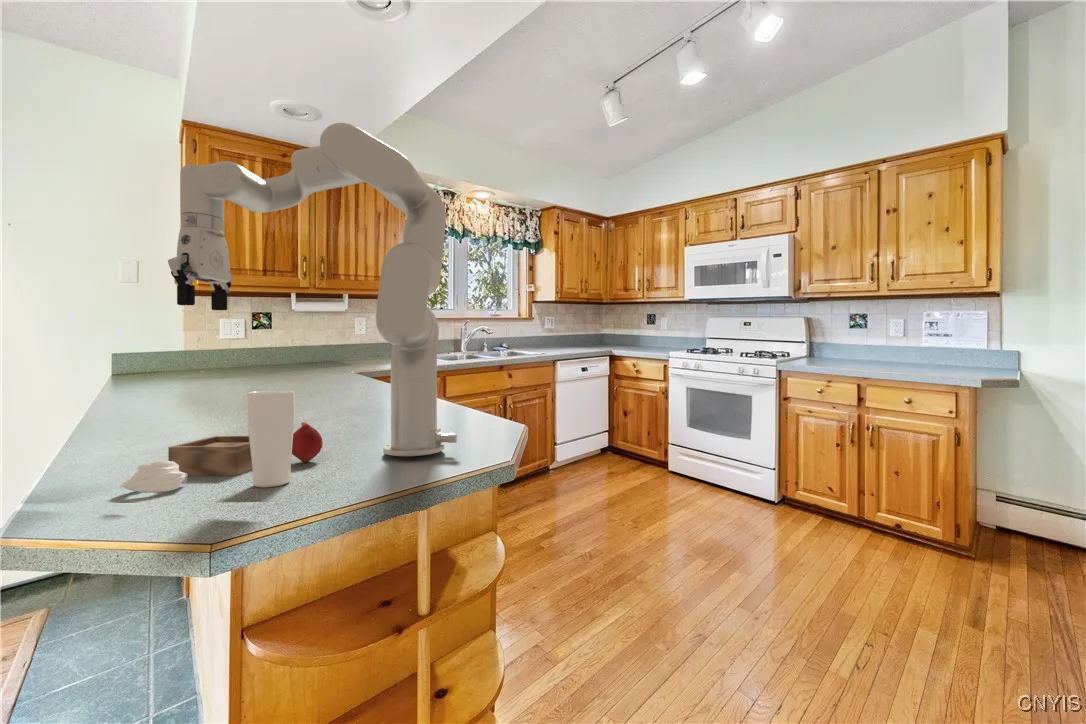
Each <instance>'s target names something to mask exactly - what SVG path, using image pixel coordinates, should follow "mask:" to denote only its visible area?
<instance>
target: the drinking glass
mask: <svg viewBox="0 0 1086 724" xmlns="http://www.w3.org/2000/svg"><path fill="white" fill-rule="evenodd" d="M295 418H296V397H295V391H294V390H258V391H249V392H247V393H246V423H247V432H248V433H247V434H248V436H249V443H250V452H251V462H252V470H251V471H252V485H253V486H255V487H256V488H275V487H280V486H283V485H286V484H288V483H289V482H291V477H292V476H291V475H292V472H291V470H292V469H291V466H292V456H293V454H292V445H293V434H294V433H295V431H294V430H295V422H296V421H295V420H296V419H295Z"/></svg>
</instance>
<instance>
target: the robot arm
mask: <svg viewBox="0 0 1086 724" xmlns="http://www.w3.org/2000/svg"><path fill="white" fill-rule="evenodd" d="M290 160H291V161H290V163H291V168H292V169H291V170H290V171H288V172H287V173H285V174H283V175H279V176H273V177H270V178H264V179H263V178H261V177H259V176H258V175H256V174H255V173H253V172H252V171H250V170H248V169H247V168H245V167H243V166H242V165H240V164H238V163H236V162H233V161H227V160H226V161H218V162H213V163H209V164H205V165H204V164H203V165H202V164H192V163H191V164H189V163H188V164H185V165H183V166H182V167H181V169H180V173H179V174H180V175H179V176H180V177H179V182H180V183H179V185H180V186H179V189H180V193H179V194H180V199H179V200H180V205H179V206H180V229H179V233H178V239H177V246H176V247H177V248H176V256H175V257H171V258H169V259H167V263H168V267H169V268H170V274H171V276H172V277H173V279H174V281H173V282H174V285H176V305H178V306H195V304H196V287H195V285H194V284H193V283H194V282H195V281H199V282H204V283H209V285H210V286H211V289H212V292H210V293H211V295H210V296H211V298H210V299H211V306H210V307H211V310H212V311H228V309H229V308H228V293H230V288H232V282H233V280H234V276H233V274H232V273H231V265H230V253H229V247H228V242H227V238H226V237H225V200H226V201H229V202H232V203H234V204H236V205H238V206H239V207H240V206H241V207H242V208H243V209H246V210H247V211H250V212H253V213H260V214H261V213H270V212H276V211H280V210H281V211H282V210H286V209H289V208H293V207H295V206H297V205H298V204H300V203H303V202H304V201H305V200H306V199H308V198H309V197H310V195H312V194H313V193H318V192H323V191H327V190H332V189H337V188H342V187H343V188H344V187H349V186H352V185H358V184H362V183H365V184H368V185H369V186H370V187H372V188H374V189H375V190H377V191H378V192H379V193H380V194H381V195H382V196H383V197H384V199H386V200H387V201H388V202H390V203H389V204H391V205H392V206H393V207H395V208H396V209H397V210H399V211H401V212H402V213H404V214H405V215H406V221H405V223H404V227H403V233H402V242H400V243H397V244H395V245H394V246H392V247H391V248H390V249H389V250H388V252H387V253H386V255H385V256H384V258H383V260H382V265H381V269H380V276H379V277H380V278H379V284H378V285H379V286H378V292H377V293H378V294H377V303H376V309H375V310H376V313H375V323H376V328H377V331H378V333H379V335H380V337H382V339H384V341H386V342H387V343H389V344H391V345H392V348H391V349H392V350H391V358H390V443H388V444H386V445H384V446H383V448H382V450H383V454H385V455H387V456H394V457H419V456H421V457H422V456H428V455H433V454H437V453H440V451H441V452H442V450H443V449H444V450H445V443H448V444H457V443H458V434H457V433H453V432H451V433H450V432H449V433H448V432H447V433H444V432H442V431H441V430H442V429H441V427H438V390H437V389H438V388H437V387H438V383H437V381H438V380H437V379H438V348H439V337H440V333H439V332H440V330H439V327H440V326H439V323H438V318H437V317H436V315H435V313H434V312H433V311H432V310H431V309H430V308H429V307H428V303H429V301H428V299H429V296H430V295H432V294H433V293H435V292H436V291H437V289H438V288H439V285H440V282H441V278H442V265H443V264H442V262H443V256H444V254H443V253H444V247H445V245H444V244H445V234H446V233H445V232H446V225H447V223H446V221H447V213H446V208H445V207H446V206H445V204H444V201H443V200H442V198H441V196H440V195H439V194H438V193H437V191H436V190H435V189H434V188H432V187H431V186H430V185H429V184H428V183H426V182H425V181H424V180H423V178H422V176H421V175H420V174H419V172H417V170H416V168H415V166H414V165H413V164H412V162H411V161H410V160H409V159H408V158H407V157H406V156H405V155H404V154H402V153H401V152H399V151H398V150H397V149H395V148H393V147H391V146H390V145H388V144H386V143H385V142H383V141H381V140H380V139H377V137H374V136H372V135H371V134H370V133H368V132H366V131H365V130H362V129H361V128H360V127H358V126H355V125H353V124H350V123H347V122H335V123H332V124H330V125H328V126H327V127H325V128H324V130H323V131H322V132H321V135H320V138H319V145H317V146H313V147H308V148H302V149H297V150H295V151H294V152H293V153H292V155H291V159H290ZM444 450H443V451H444Z"/></svg>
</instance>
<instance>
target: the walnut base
mask: <svg viewBox="0 0 1086 724" xmlns="http://www.w3.org/2000/svg"><path fill="white" fill-rule="evenodd" d="M167 450H168V452H167V453H168V454H167V456H168V459H167V461H173V462H175V463H177V464H178V465H179V471H180V472H183V473H186V474H187V475H188V477H189V476H190V477H191V476H192V477H194V476H195V477H196V476H197V477H199V476H201V477H202V476H204V477H205V476H206V477H209V476H212V477H215V476H220V477H221V476H223V477H224V476H225V477H226V476H240V475H242V474H245V473H248V472H251V471H252V462H251V452H250V443H249V435H214V436H210V437H206V438H200V439H197V440H193V441H190V442H189V441H188V442H185V443H181V444H176V445H172V446H168V449H167Z"/></svg>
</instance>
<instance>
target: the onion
mask: <svg viewBox="0 0 1086 724" xmlns="http://www.w3.org/2000/svg"><path fill="white" fill-rule="evenodd" d="M323 444H324V443H323V438H322V436H321V434H320V432H319V431H318V430H317V429H316V428H314V427H312V426H311V425H310V424H308V423H307V422H305V421H303V422H301V426H300V427H299V428H298V429H297V430H295V431H294V434H293V445H292V456H294V457H295V458H296V459H298V460H299V461H300V462H302V463H303V464H305V463H306V462H307V463H309V462H310V461H311V460H313V459H314V458H316V457H317V455H318V454H319V453H320V452H321V450H322V448H323ZM307 463H306V464H307Z"/></svg>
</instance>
